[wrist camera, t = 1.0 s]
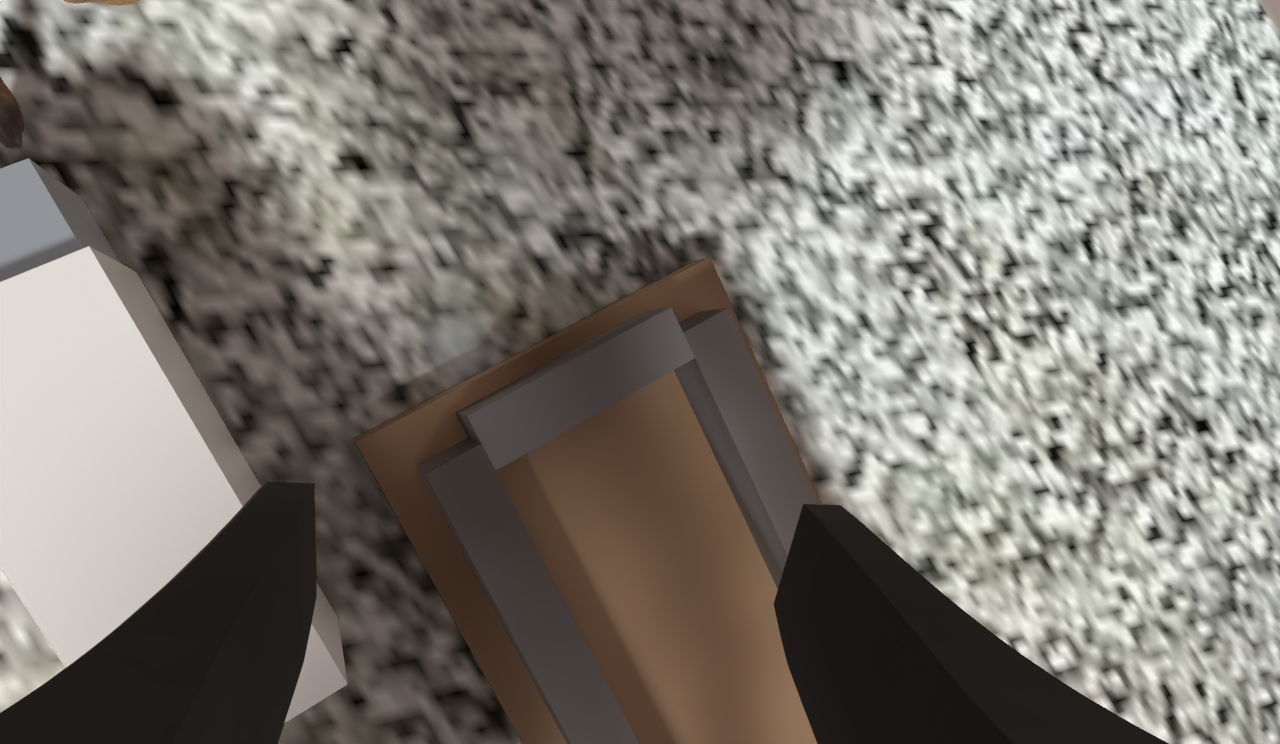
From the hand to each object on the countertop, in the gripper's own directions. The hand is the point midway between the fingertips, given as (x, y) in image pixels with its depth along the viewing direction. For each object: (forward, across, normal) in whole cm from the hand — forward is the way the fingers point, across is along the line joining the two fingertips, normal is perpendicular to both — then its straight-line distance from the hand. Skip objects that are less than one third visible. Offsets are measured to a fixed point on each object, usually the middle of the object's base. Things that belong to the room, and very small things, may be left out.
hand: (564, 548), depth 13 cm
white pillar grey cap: (+9, +9, +6) cm, 14 cm away
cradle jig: (+9, -5, +10) cm, 14 cm away
